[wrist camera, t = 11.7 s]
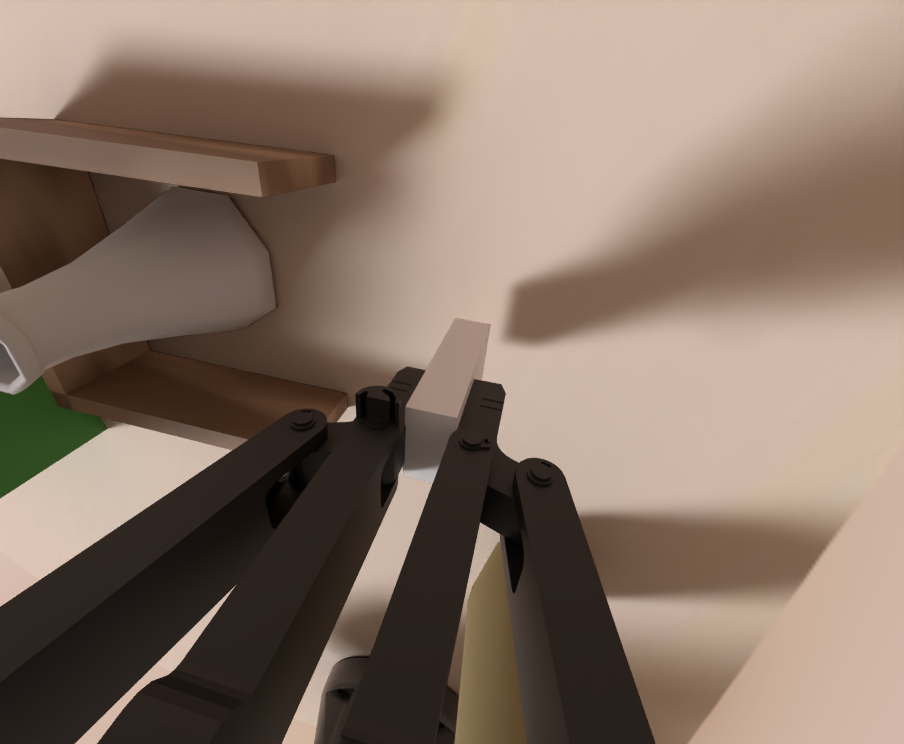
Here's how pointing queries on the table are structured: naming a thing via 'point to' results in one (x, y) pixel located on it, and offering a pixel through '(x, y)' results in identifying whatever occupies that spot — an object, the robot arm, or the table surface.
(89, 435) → the hardback book
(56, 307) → the flask
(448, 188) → the table surface
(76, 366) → the box
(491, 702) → the squeeze bottle
